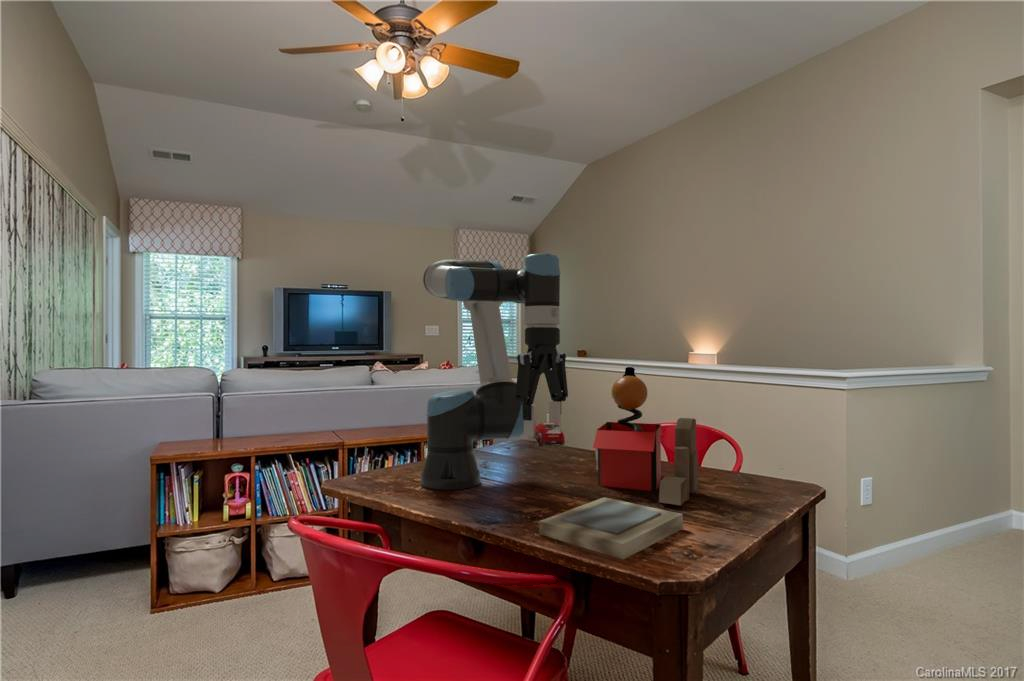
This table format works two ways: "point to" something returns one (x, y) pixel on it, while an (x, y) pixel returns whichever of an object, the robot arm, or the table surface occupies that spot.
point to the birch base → (612, 526)
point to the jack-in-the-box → (629, 441)
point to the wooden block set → (682, 465)
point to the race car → (549, 434)
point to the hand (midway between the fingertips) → (542, 433)
